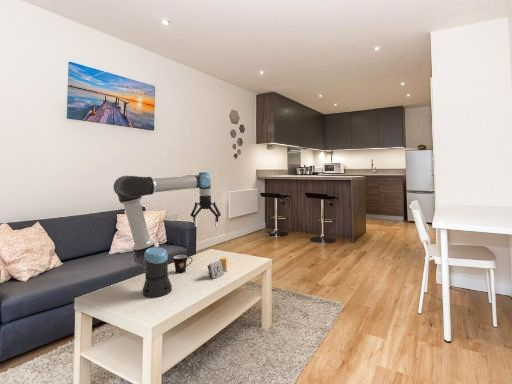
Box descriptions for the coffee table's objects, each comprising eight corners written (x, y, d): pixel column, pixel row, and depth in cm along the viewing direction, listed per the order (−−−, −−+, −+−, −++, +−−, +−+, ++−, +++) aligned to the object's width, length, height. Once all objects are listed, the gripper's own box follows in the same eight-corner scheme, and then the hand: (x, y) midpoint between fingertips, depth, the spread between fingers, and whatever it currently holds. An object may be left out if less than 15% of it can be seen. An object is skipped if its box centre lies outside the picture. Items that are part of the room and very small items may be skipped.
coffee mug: (172, 274, 183) (171, 258, 182) (175, 269, 192) (175, 255, 191) (190, 273, 183) (190, 258, 183) (193, 269, 192) (192, 254, 191)
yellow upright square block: (227, 267, 190) (227, 257, 189) (226, 269, 185) (226, 259, 185) (221, 267, 190) (220, 257, 189) (219, 269, 186) (219, 259, 185)
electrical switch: (213, 279, 173) (211, 264, 173) (207, 278, 176) (206, 263, 176) (224, 275, 180) (222, 260, 180) (218, 274, 183) (217, 259, 183)
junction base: (220, 272, 185) (220, 270, 185) (219, 270, 189) (219, 267, 189) (227, 271, 186) (227, 269, 186) (226, 269, 190) (226, 267, 190)
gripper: (224, 194, 192) (225, 225, 193) (188, 195, 194) (189, 225, 196) (222, 195, 185) (223, 227, 186) (185, 195, 187) (186, 227, 188)
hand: (206, 226), depth 191 cm, fingers open, 13 cm apart
